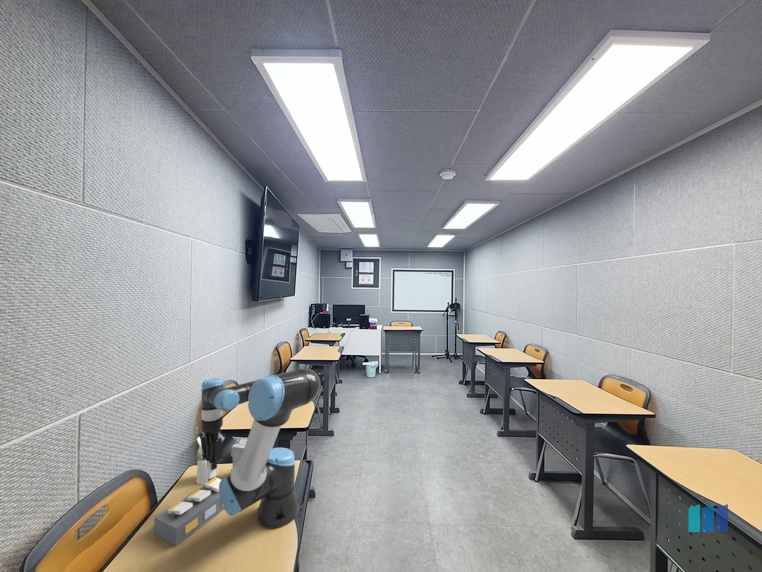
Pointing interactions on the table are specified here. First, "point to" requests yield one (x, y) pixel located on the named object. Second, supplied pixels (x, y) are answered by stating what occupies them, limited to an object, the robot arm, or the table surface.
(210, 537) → the table surface
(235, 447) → the circuit breaker
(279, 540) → the table surface
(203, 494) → the block
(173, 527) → the panel
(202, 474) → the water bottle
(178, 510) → the rocker
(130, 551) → the table surface
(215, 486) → the rocker
